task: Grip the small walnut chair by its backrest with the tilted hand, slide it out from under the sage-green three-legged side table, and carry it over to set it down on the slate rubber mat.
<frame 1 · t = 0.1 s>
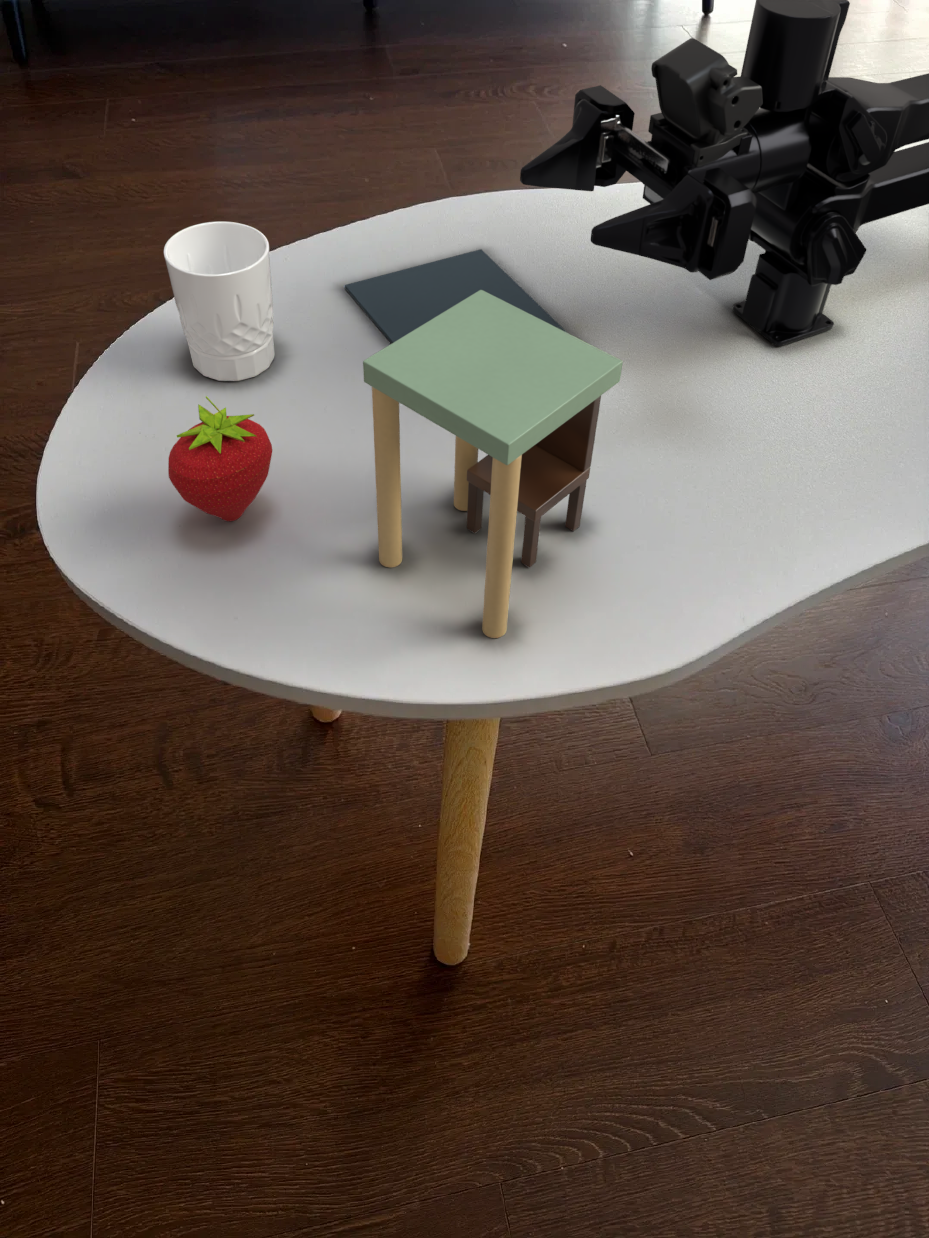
hand: (555, 205, 76), 17 cm above the table, tool horizontal, fingers open, 9 cm apart
white cup: (233, 360, 91), on the table
chair: (523, 527, 78), on the table
mat: (461, 320, 95), on the table
side table: (482, 560, 76), on the table
strawberry: (231, 519, 78), on the table
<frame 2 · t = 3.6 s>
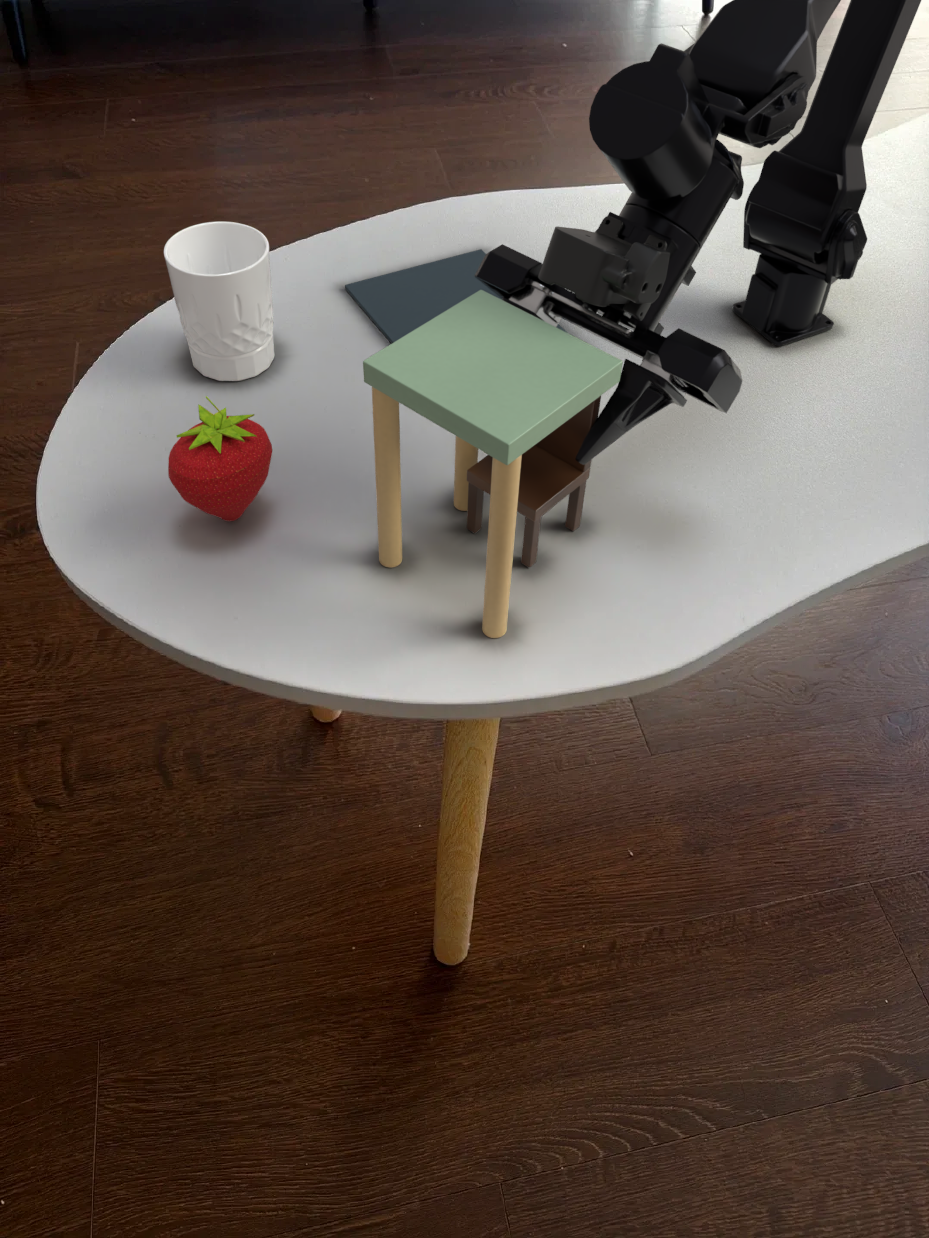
hand: (541, 441, 74), 7 cm above the table, tool tilted 45°, fingers closed on chair, 6 cm apart
chair: (523, 527, 78), on the table, touching gripper
everything else where it was.
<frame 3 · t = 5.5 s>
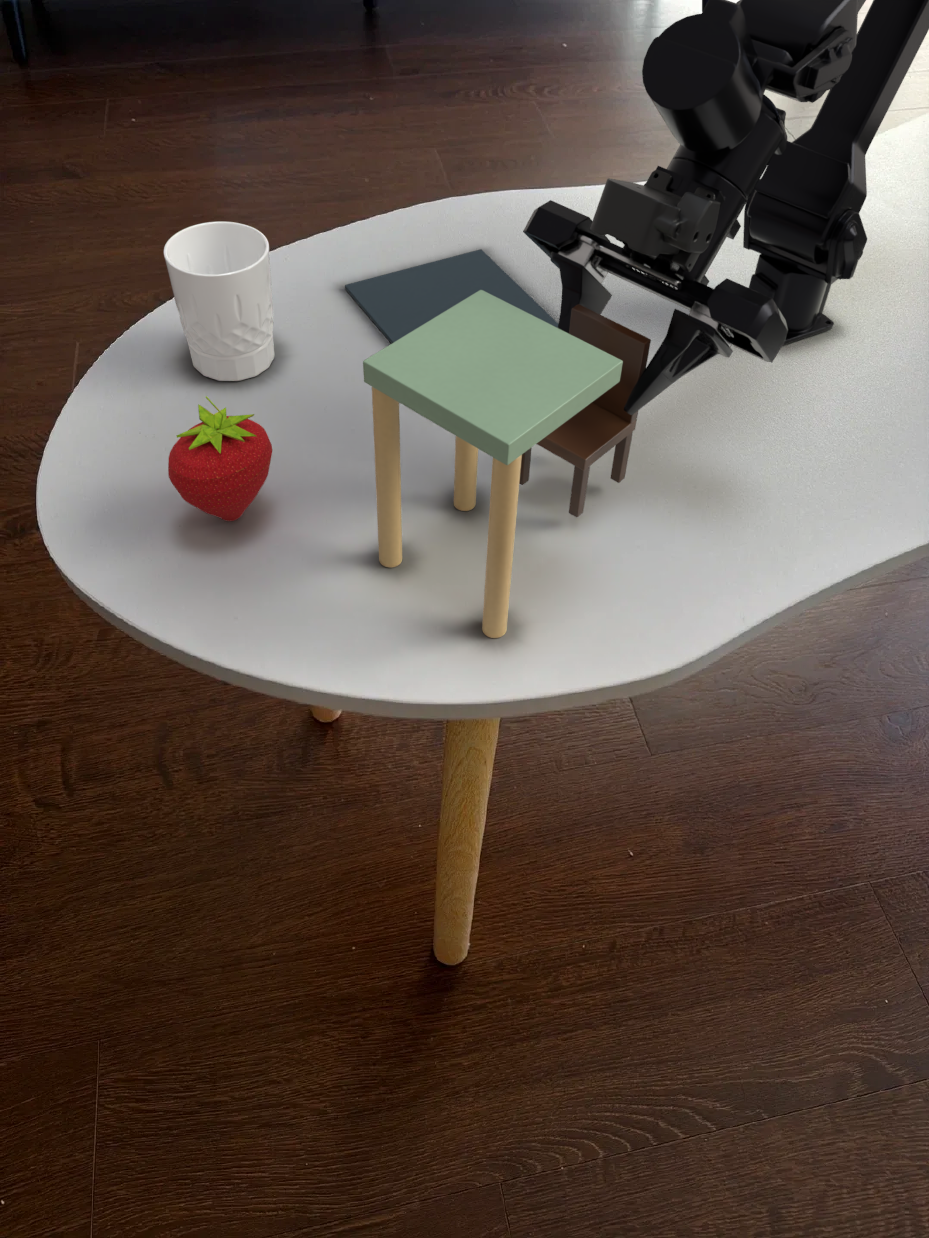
hand: (589, 393, 75), 8 cm above the table, tool tilted 45°, fingers closed on chair, 6 cm apart
chair: (569, 479, 80), point 1 cm above the table, touching gripper
everything else where it was.
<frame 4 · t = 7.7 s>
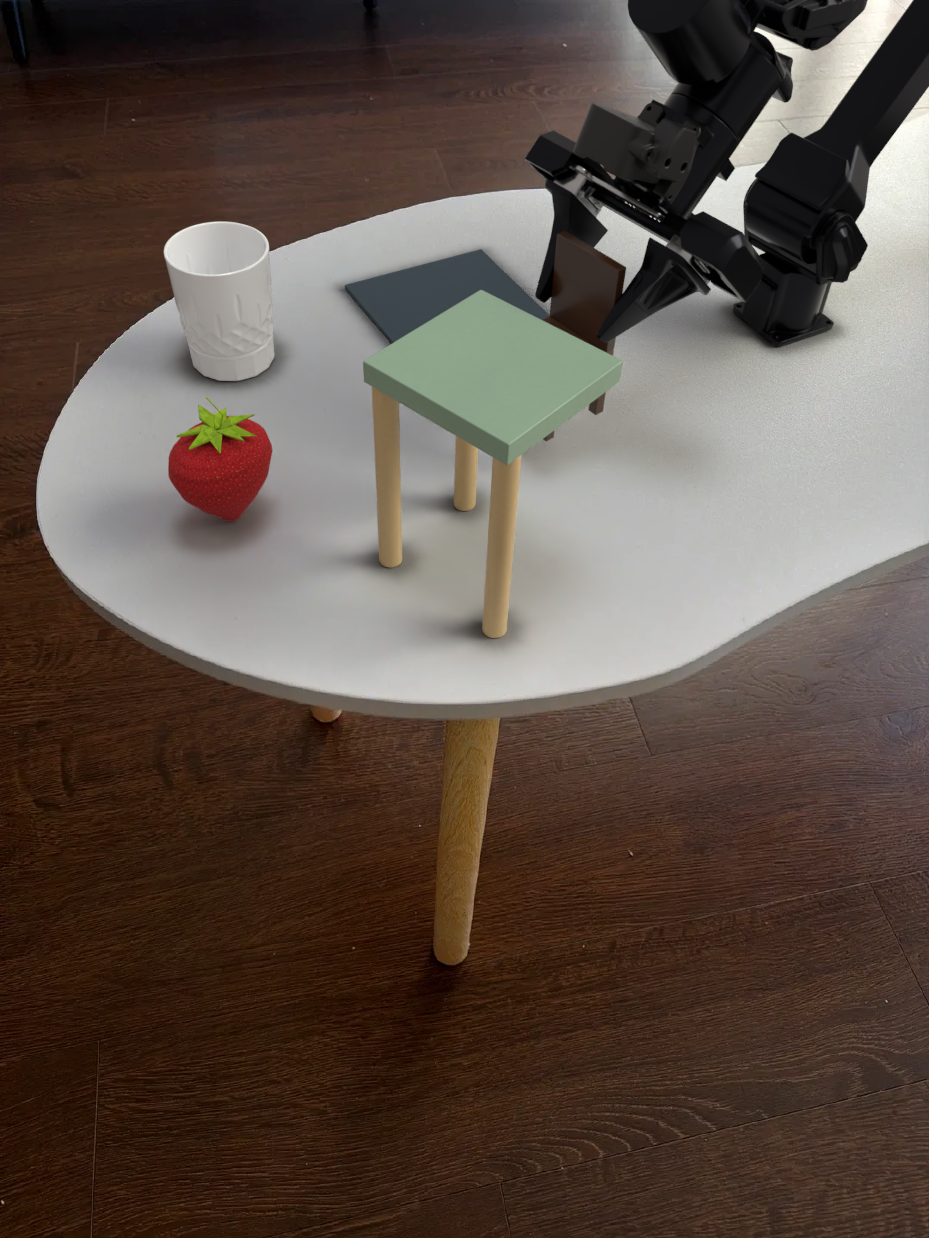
hand: (569, 319, 77), 10 cm above the table, tool tilted 45°, fingers closed on chair, 6 cm apart
chair: (548, 407, 82), point 3 cm above the table, touching gripper
everything else where it was.
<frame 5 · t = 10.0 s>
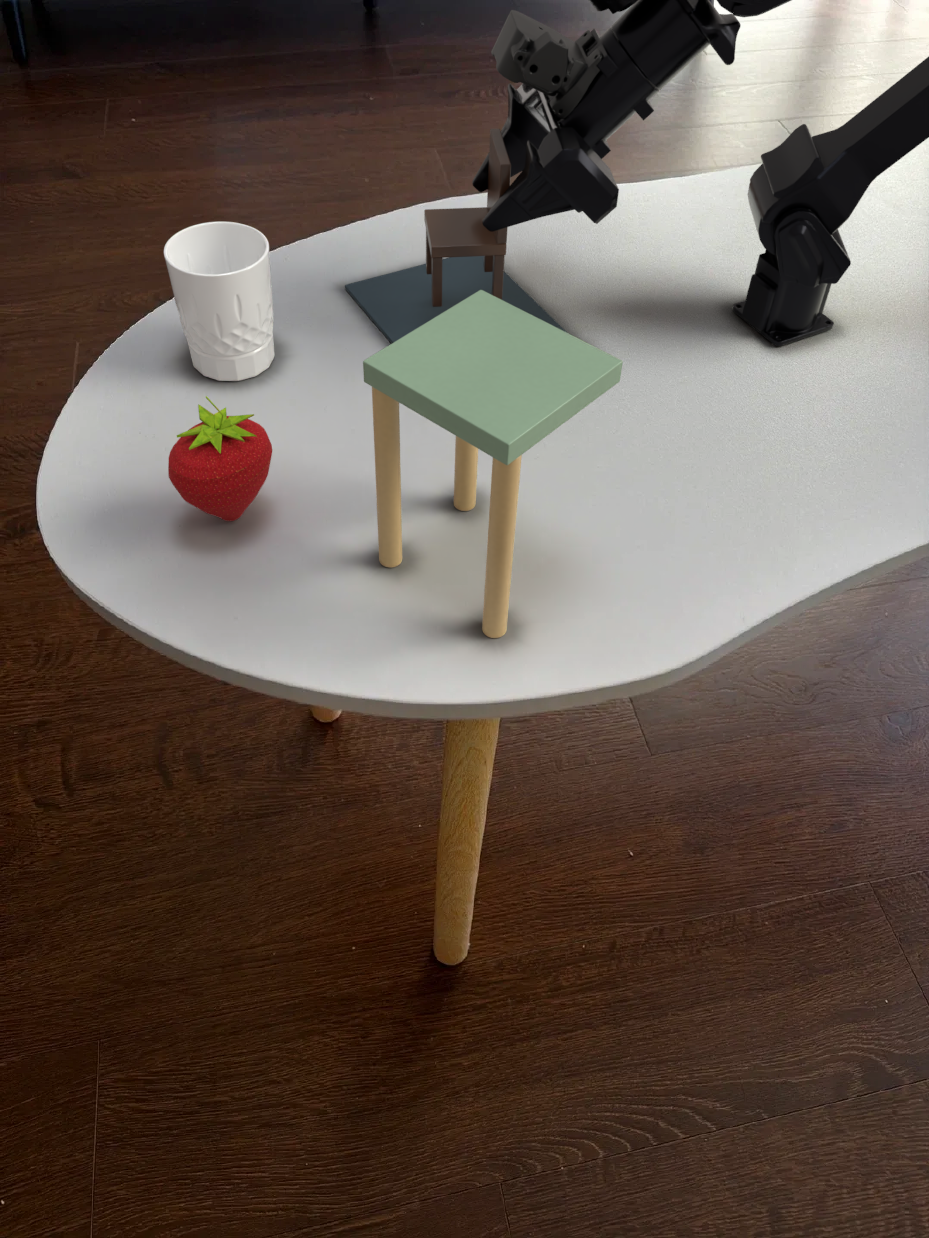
hand: (480, 207, 88), 10 cm above the table, tool tilted 45°, fingers closed on chair, 6 cm apart
chair: (463, 286, 93), point 3 cm above the table, touching gripper
everything else where it was.
when the fingers open (7 cm above the table, at t = 11.8 s): chair stays where it is, resting on mat.
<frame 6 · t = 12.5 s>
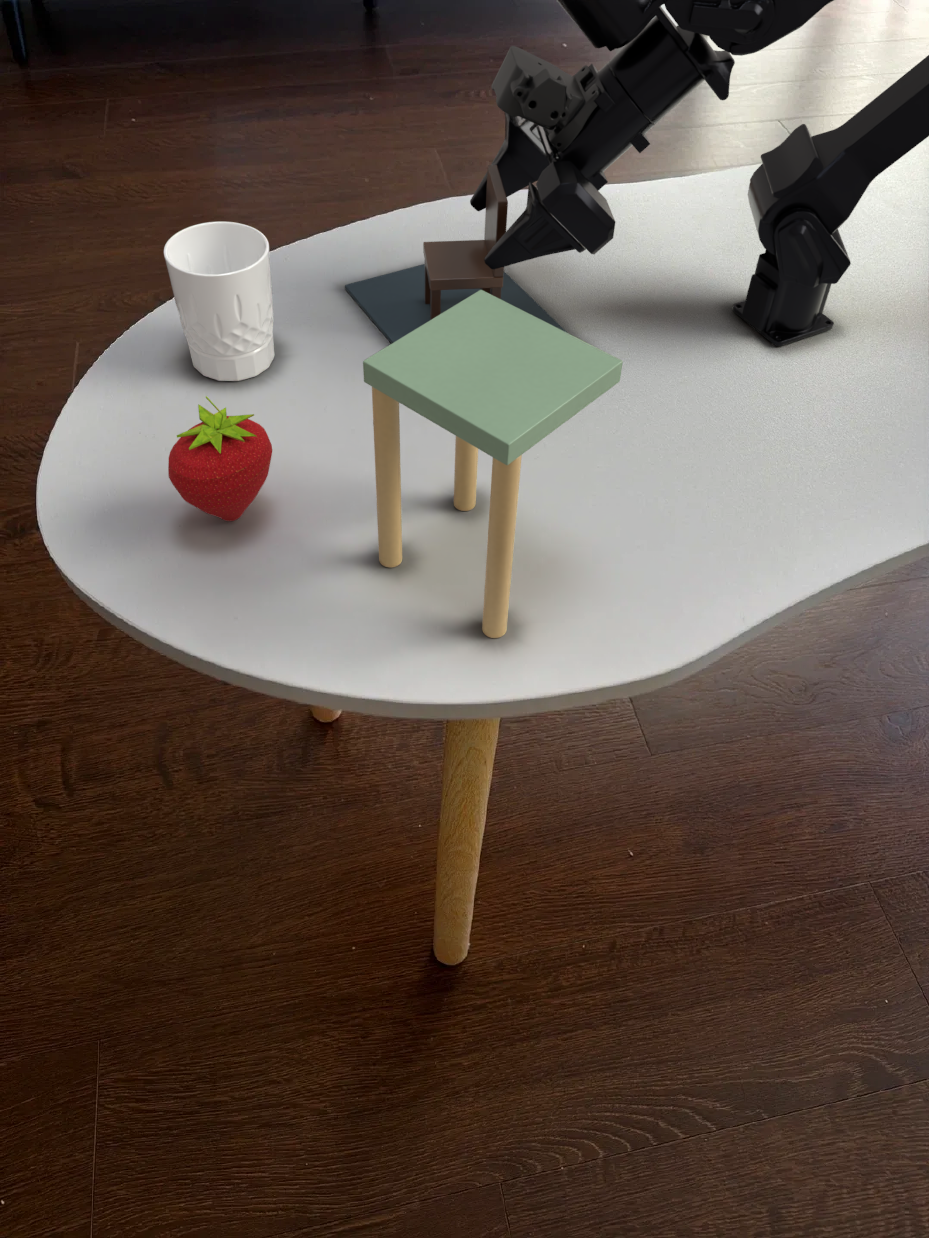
hand: (480, 235, 89), 8 cm above the table, tool tilted 45°, fingers open, 9 cm apart
chair: (460, 316, 95), resting on mat
everything else where it was.
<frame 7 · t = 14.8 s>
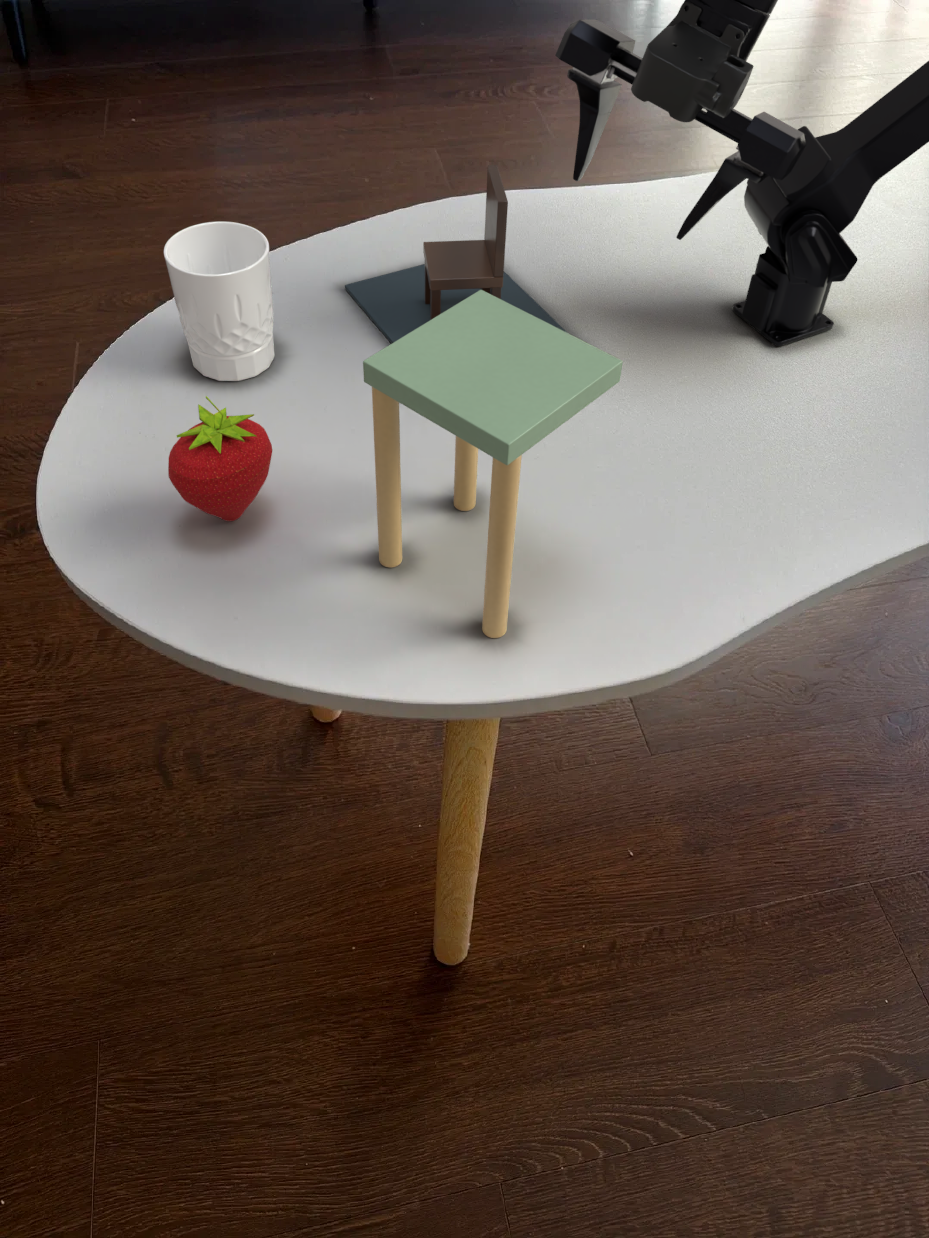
hand: (627, 209, 84), 12 cm above the table, tool tilted 25°, fingers open, 9 cm apart
nothing on the table moved.
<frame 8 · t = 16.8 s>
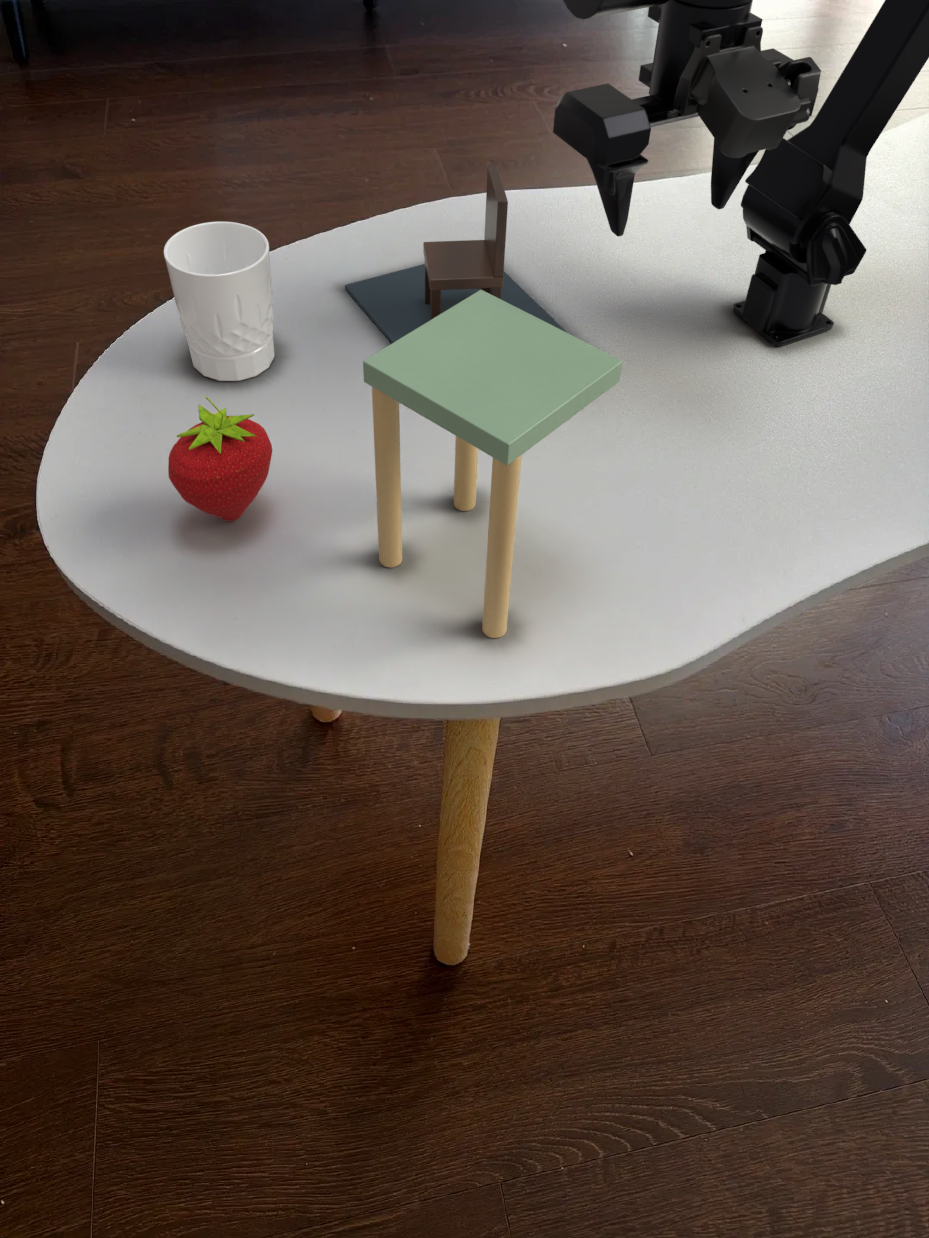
hand: (667, 220, 82), 13 cm above the table, tool pointing down, fingers open, 9 cm apart
nothing on the table moved.
at the end: chair inside the target area on the mat (0.1 cm from its centre), point 0.4 cm above the mat's base; chair tilted 0°; the gripper is holding nothing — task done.
